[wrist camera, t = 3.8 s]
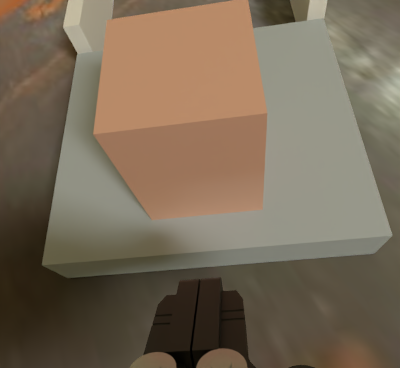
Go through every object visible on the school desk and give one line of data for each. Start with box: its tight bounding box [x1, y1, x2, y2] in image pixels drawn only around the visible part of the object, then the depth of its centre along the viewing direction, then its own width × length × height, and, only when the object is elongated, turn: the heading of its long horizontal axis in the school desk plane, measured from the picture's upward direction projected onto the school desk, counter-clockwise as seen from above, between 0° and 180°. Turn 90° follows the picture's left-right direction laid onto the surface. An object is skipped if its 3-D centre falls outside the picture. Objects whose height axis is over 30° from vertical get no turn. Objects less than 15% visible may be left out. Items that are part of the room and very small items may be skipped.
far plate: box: [42, 18, 392, 278], centre depth 23 cm, size 18×16×3 cm
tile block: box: [93, 0, 267, 220], centre depth 17 cm, size 6×6×8 cm
